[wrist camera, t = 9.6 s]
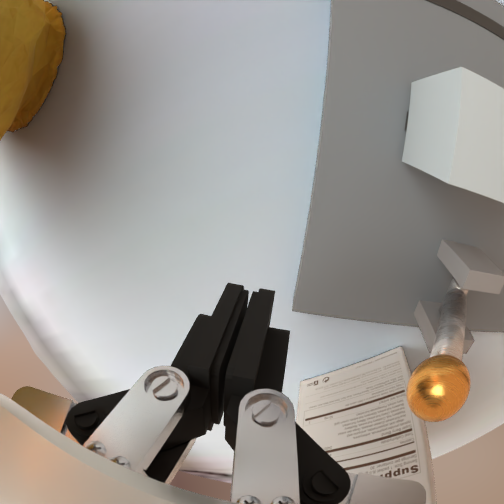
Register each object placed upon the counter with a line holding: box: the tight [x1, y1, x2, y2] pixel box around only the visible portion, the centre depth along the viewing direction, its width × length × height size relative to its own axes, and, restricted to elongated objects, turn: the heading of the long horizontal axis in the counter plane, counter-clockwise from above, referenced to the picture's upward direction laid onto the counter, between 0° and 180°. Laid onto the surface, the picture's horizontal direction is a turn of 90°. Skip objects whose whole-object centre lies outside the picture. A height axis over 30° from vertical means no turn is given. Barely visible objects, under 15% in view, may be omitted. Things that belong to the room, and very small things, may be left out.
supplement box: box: [296, 347, 437, 504], centre depth 14 cm, size 9×9×15 cm
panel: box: [292, 0, 504, 354], centre depth 10 cm, size 22×18×5 cm
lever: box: [406, 277, 470, 422], centre depth 10 cm, size 2×2×9 cm
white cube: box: [402, 67, 504, 203], centre depth 8 cm, size 4×4×5 cm
